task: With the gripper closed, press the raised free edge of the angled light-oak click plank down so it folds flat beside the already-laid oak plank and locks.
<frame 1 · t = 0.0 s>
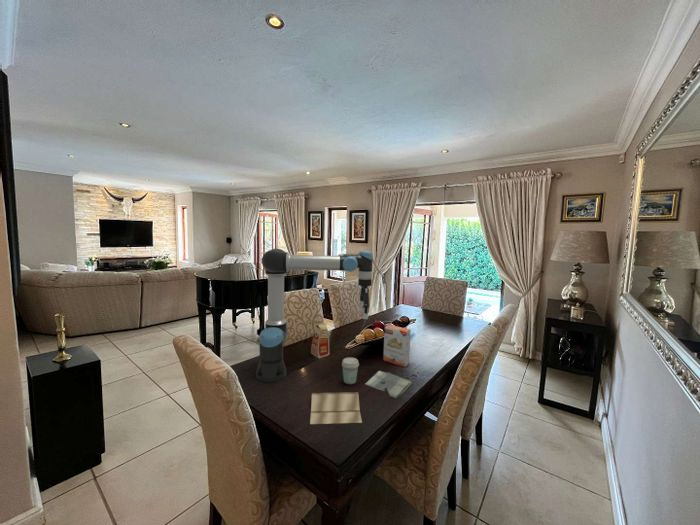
hand: (363, 315, 164), 28 cm above the table, fingers open, 13 cm apart
laid plank: (335, 420, 115), on the table
milk carton: (320, 354, 178), on the table
coffee cup: (349, 384, 143), on the table
dish towel: (388, 386, 143), on the table
click plank: (335, 402, 122), point 3 cm above the table, hinge at 35.0°
cracker box: (395, 362, 169), on the table
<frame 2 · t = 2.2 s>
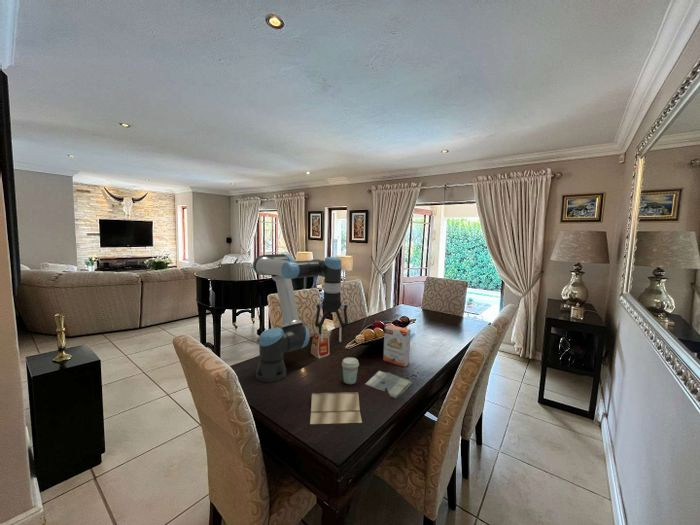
hand: (331, 340, 132), 25 cm above the table, fingers open, 8 cm apart
nothing on the table moved.
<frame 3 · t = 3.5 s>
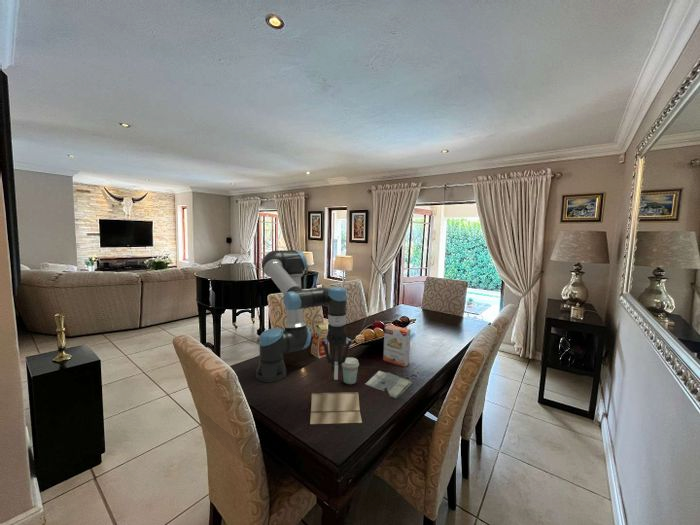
hand: (335, 377, 123), 13 cm above the table, fingers closed
nothing on the table moved.
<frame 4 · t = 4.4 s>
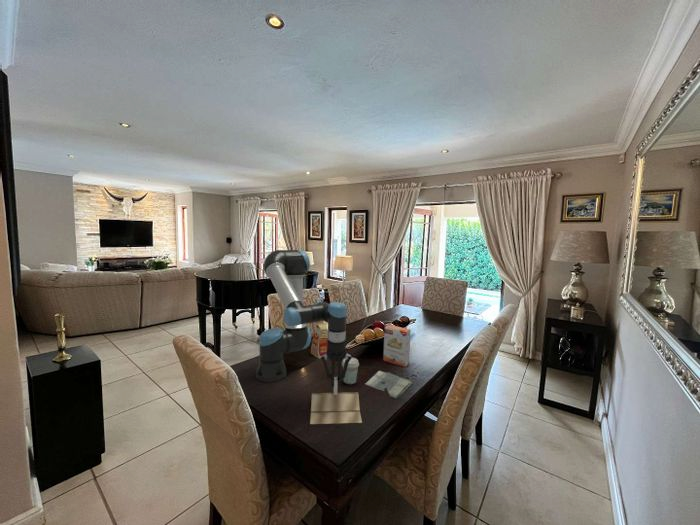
hand: (335, 393, 123), 6 cm above the table, fingers closed
click plank: (335, 402, 122), point 3 cm above the table, hinge at 35.0°, touching gripper
everything else where it was.
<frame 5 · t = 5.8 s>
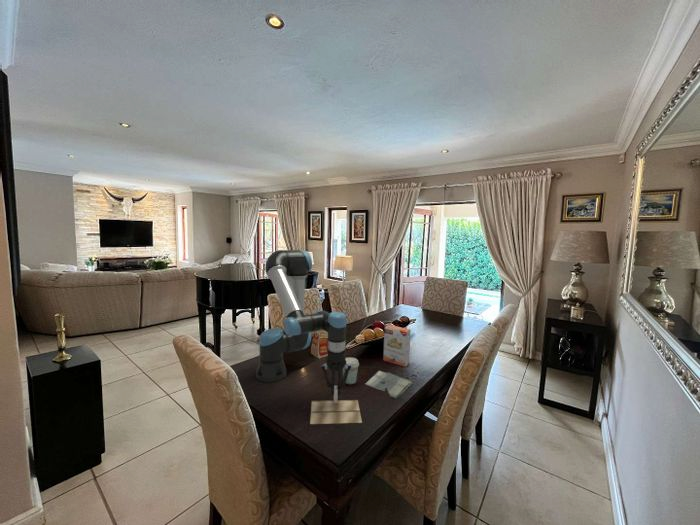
hand: (335, 401, 125), 2 cm above the table, fingers closed
click plank: (335, 407, 122), point 1 cm above the table, hinge at -0.3°, touching gripper
everything else where it was.
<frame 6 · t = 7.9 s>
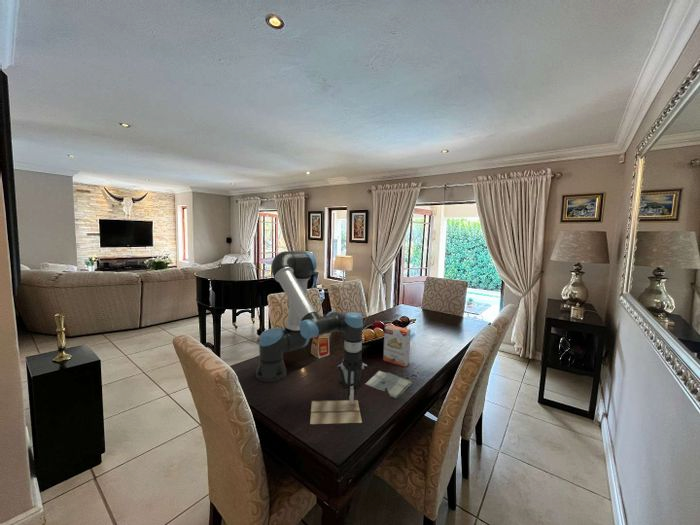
hand: (351, 402, 125), 2 cm above the table, fingers closed
nothing on the table moved.
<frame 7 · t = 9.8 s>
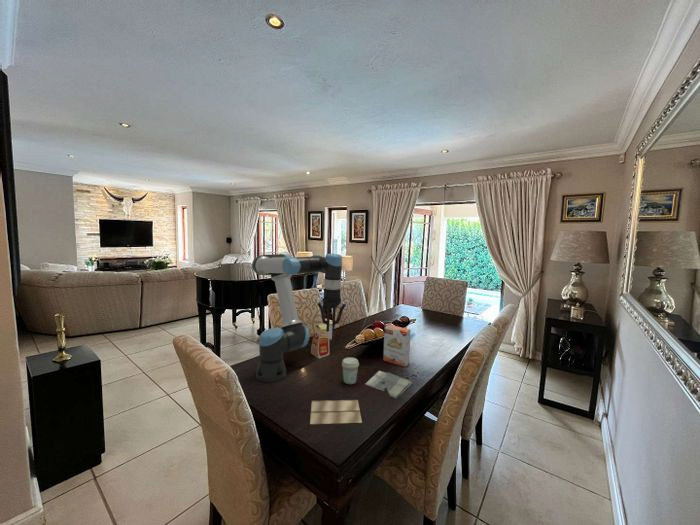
hand: (330, 337, 134), 26 cm above the table, fingers closed
click plank: (335, 407, 122), point 1 cm above the table, hinge at 0.2°
everything else where it was.
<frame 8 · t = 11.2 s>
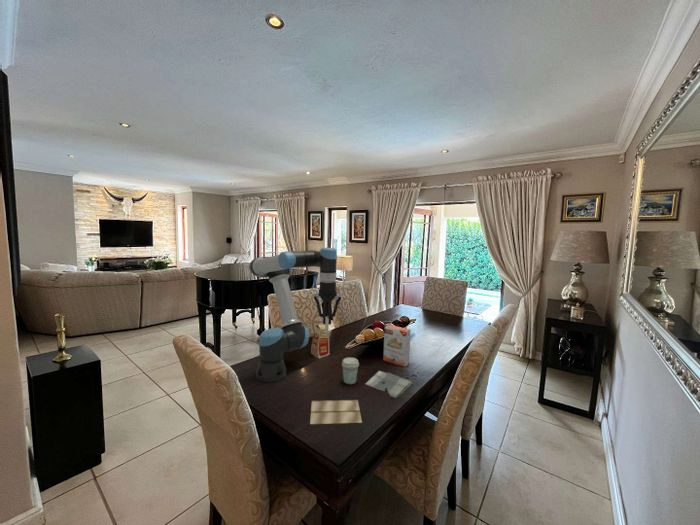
hand: (326, 330, 135), 28 cm above the table, fingers closed
nothing on the table moved.
at the end: click plank at +0° (first picture: +35°); click plank touching nothing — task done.
